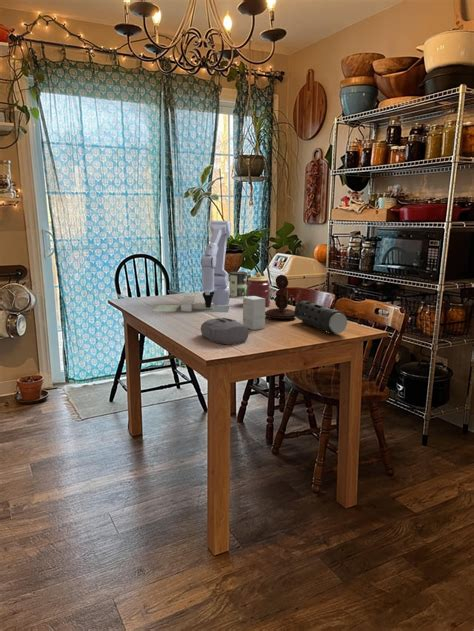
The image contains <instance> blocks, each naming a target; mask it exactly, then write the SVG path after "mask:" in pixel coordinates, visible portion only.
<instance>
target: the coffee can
mask: <svg viewBox="0 0 474 631" xmlns="http://www.w3.org/2000/svg"><path fill="white" fill-rule="evenodd" d="M228 275H229V298H233V299H243V297H246V289H247V285H246V283H247V282H248V273H247V272H246V271H230V272H229V273H228Z"/></svg>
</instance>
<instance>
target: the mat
mask: <svg viewBox="0 0 474 631" xmlns="http://www.w3.org/2000/svg"><path fill="white" fill-rule="evenodd" d="M229 309H230V306H229V305H213V309H193V310H192V312H191V313H229V311H230V310H229ZM152 312H168V313H171V312H176V313H177V312H179V313H180V312H181V313H182V312H184V313H186V312H185V311H181V304H180V305H176V304H174V305H173V304H171V305H170V304H158V305H157V306H156V307H155V308H154V309H153V310H152Z"/></svg>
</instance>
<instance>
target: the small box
mask: <svg viewBox="0 0 474 631" xmlns="http://www.w3.org/2000/svg"><path fill="white" fill-rule="evenodd" d="M265 312H266V307H265V298H261V297H257V296H249V297H243V298H242V324H243V325H245V326H246V327H247V329H248V330H249V329H250V330H252V331H255V330H256V331H257V330H263V329H266V315H265Z"/></svg>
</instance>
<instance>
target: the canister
mask: <svg viewBox="0 0 474 631" xmlns="http://www.w3.org/2000/svg"><path fill="white" fill-rule="evenodd" d="M269 281H270V278H268V277H267V276H266V275H262V274H261V272H256V274H255V275H251V276H249V277H247V283H246V285H247V289H246V297H249V296H257V297H261V298H265V308H267V307H270V306H271V287H270V286H271V282H269Z"/></svg>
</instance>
